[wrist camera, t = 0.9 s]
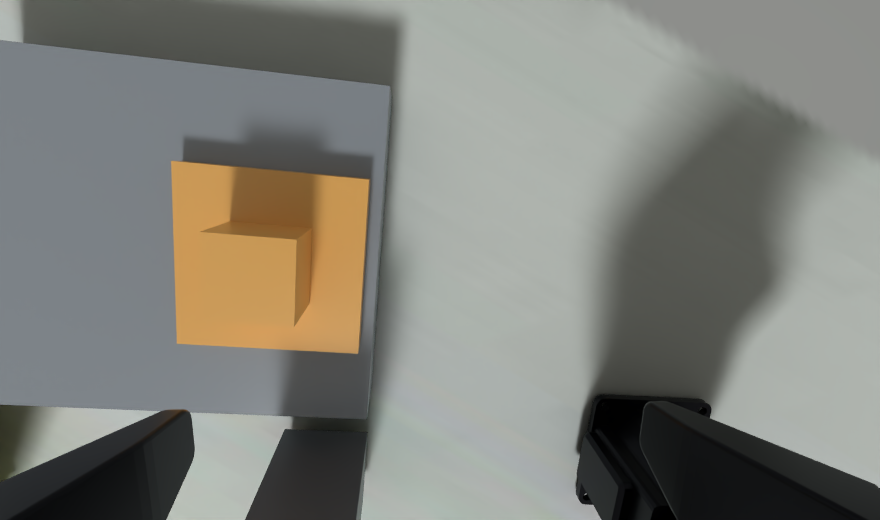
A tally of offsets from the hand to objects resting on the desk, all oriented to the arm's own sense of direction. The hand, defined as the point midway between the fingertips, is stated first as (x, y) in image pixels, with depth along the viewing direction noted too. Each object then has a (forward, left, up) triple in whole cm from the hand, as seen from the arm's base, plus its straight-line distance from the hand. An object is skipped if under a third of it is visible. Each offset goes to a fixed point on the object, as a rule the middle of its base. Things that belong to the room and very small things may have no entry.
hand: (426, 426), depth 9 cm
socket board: (+9, -1, -13) cm, 16 cm away
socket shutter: (+6, -1, -10) cm, 11 cm away
